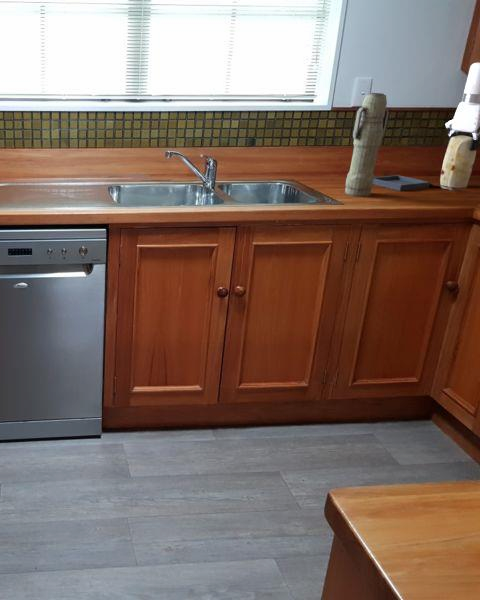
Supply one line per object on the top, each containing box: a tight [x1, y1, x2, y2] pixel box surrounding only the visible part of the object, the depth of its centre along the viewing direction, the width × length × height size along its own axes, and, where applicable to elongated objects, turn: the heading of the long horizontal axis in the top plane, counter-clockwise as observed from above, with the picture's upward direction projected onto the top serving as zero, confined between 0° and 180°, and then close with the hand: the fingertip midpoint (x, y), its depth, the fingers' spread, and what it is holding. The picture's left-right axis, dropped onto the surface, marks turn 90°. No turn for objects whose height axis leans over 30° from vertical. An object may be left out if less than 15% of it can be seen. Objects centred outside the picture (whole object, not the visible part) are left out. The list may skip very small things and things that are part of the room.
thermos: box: [344, 92, 390, 198], centre depth 216 cm, size 9×12×35 cm
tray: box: [372, 174, 431, 192], centre depth 237 cm, size 15×16×2 cm
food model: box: [439, 135, 477, 192], centre depth 227 cm, size 10×7×20 cm
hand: (461, 148), depth 225 cm, fingers closed on food model, 8 cm apart
